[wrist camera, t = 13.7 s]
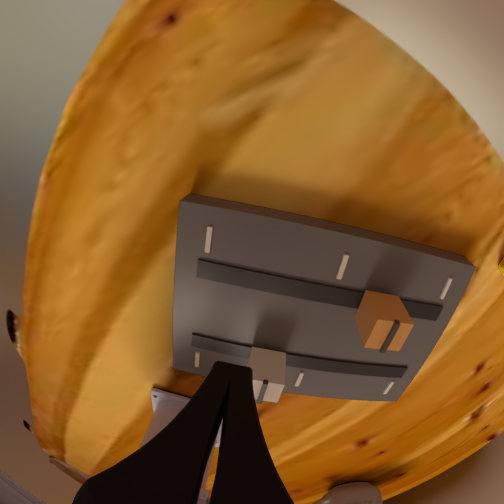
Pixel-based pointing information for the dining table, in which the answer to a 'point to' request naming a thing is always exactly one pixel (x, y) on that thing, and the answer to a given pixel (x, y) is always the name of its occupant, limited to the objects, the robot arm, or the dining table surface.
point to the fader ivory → (267, 373)
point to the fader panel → (304, 297)
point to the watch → (501, 266)
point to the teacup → (352, 494)
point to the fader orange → (383, 321)
